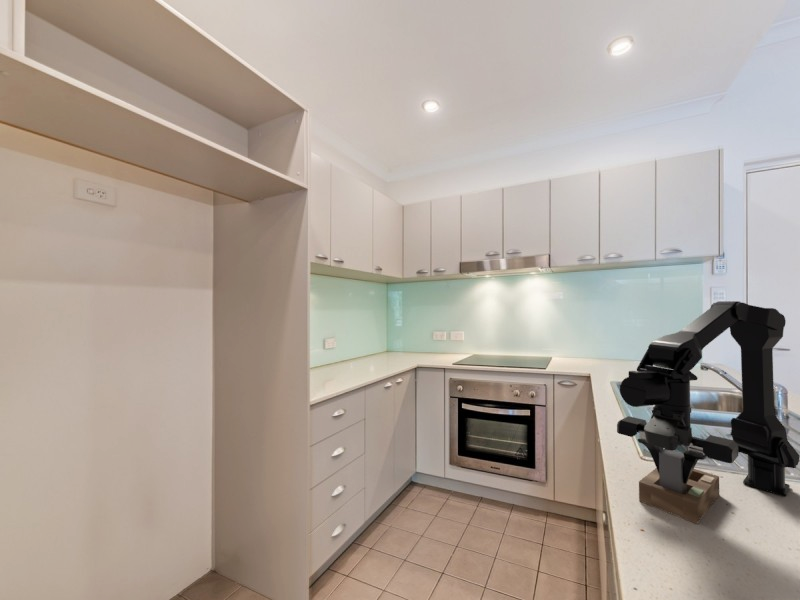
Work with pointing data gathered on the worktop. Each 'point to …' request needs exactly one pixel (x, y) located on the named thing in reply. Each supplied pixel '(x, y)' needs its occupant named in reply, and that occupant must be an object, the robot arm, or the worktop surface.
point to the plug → (672, 471)
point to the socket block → (681, 495)
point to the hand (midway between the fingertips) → (673, 479)
